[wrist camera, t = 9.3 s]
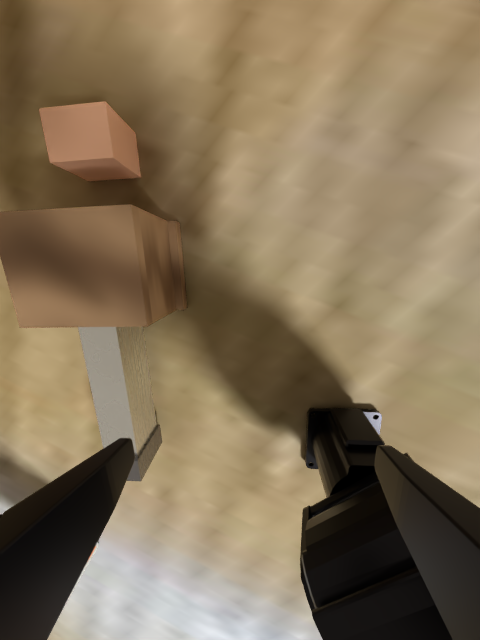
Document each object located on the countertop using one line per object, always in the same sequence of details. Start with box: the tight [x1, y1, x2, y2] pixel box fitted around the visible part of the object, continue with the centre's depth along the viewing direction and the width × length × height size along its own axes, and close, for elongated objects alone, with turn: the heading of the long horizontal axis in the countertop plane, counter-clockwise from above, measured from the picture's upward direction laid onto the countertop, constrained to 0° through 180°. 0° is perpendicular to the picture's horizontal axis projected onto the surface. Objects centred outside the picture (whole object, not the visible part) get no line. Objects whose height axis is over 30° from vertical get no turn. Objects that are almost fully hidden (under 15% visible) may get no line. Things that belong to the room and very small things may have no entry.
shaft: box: [78, 327, 162, 481], centre depth 19 cm, size 18×3×4 cm, turn 2°
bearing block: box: [0, 204, 187, 328], centre depth 17 cm, size 7×10×6 cm
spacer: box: [39, 101, 141, 181], centre depth 16 cm, size 4×4×3 cm
